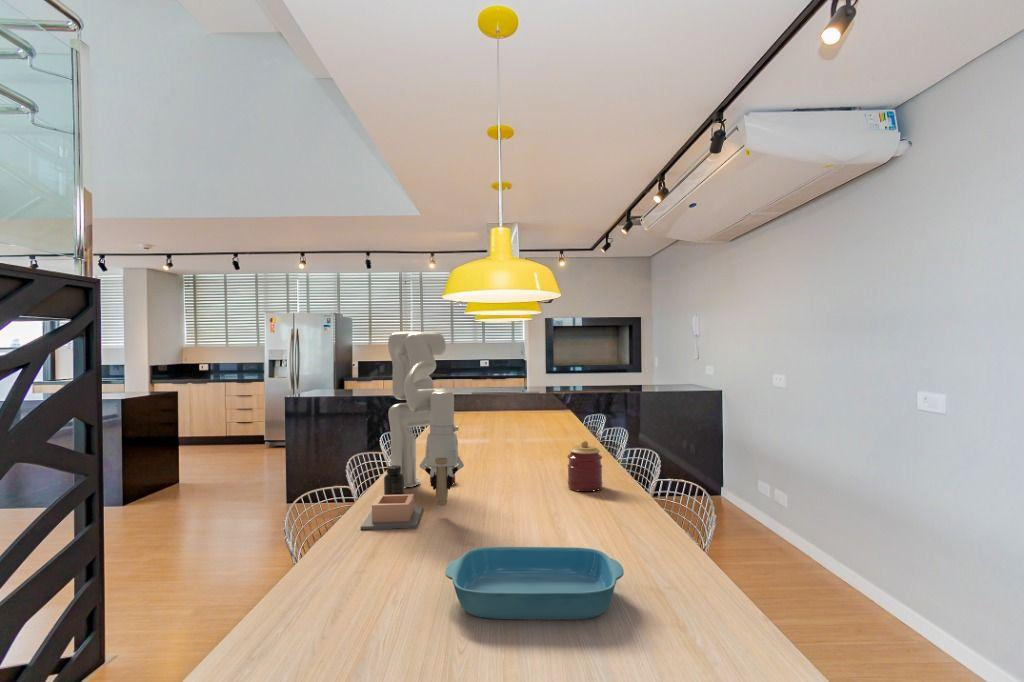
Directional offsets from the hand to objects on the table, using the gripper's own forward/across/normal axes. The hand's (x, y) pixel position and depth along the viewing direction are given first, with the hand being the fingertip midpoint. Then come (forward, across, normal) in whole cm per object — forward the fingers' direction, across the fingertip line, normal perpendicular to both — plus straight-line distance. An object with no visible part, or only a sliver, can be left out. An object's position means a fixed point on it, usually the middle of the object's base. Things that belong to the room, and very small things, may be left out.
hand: (441, 487), depth 162 cm
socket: (+9, +15, +2) cm, 17 cm away
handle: (+5, 0, 0) cm, 5 cm away
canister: (+9, -51, -28) cm, 59 cm away
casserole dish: (+8, -23, +56) cm, 61 cm away
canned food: (+10, +3, -40) cm, 42 cm away
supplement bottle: (+10, +18, -17) cm, 26 cm away
